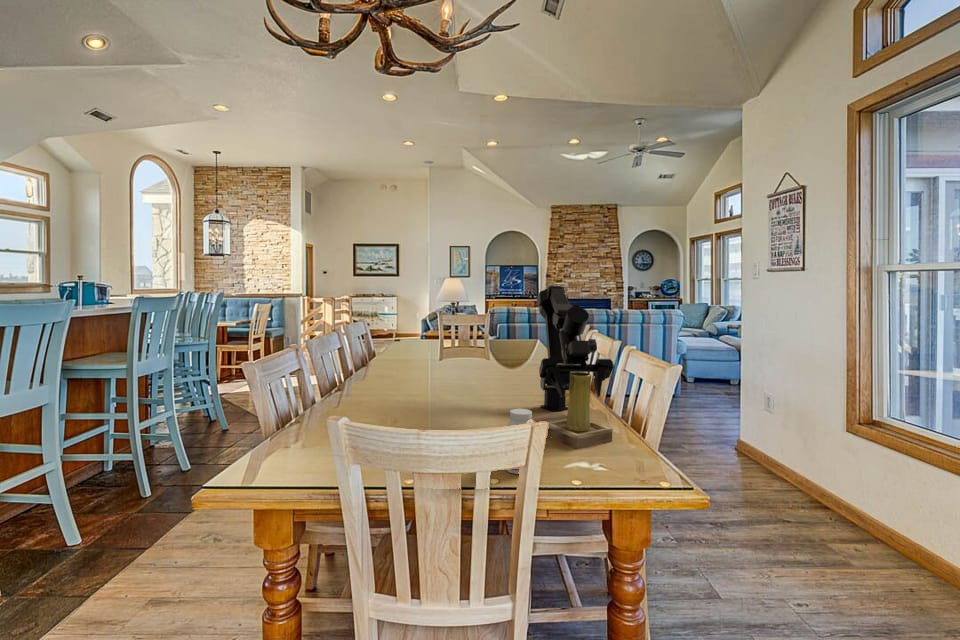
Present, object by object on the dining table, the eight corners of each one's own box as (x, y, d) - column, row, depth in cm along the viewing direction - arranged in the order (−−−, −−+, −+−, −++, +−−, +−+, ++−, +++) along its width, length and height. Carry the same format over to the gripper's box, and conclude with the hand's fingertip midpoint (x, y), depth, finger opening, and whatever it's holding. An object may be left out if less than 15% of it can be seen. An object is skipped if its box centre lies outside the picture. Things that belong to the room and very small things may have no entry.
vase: (593, 428, 135) (596, 373, 134) (584, 433, 130) (587, 377, 129) (571, 423, 139) (574, 370, 138) (562, 429, 134) (564, 374, 132)
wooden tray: (526, 427, 143) (526, 415, 143) (559, 421, 150) (560, 410, 149) (576, 449, 126) (577, 435, 126) (611, 441, 133) (612, 428, 132)
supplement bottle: (518, 461, 117) (519, 405, 116) (541, 470, 112) (543, 411, 111) (497, 469, 112) (499, 410, 111) (520, 478, 108) (522, 417, 107)
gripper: (542, 327, 135) (549, 378, 125) (613, 328, 137) (625, 378, 127) (536, 352, 144) (542, 402, 134) (602, 353, 145) (614, 402, 135)
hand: (581, 396), depth 132 cm, fingers open, 9 cm apart
